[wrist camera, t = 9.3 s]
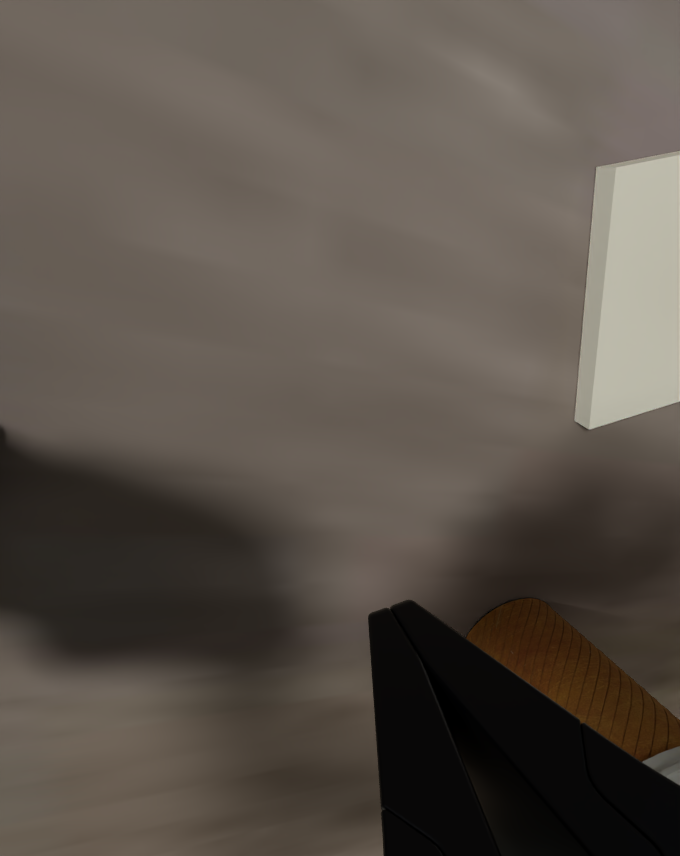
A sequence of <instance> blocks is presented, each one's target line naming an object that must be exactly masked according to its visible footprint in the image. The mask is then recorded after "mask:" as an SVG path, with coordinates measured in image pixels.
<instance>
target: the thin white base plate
mask: <svg viewBox="0 0 680 856" xmlns="http://www.w3.org/2000/svg"><path fill="white" fill-rule="evenodd" d="M676 402H680V151H676V152H671V153H666V154H661V155H656V156H651V157H646V158H640V159H635V160H630V161H625V162H620V163H615V164H610V165H605V166H600V167H596V178H595V189H594V201H593V212H592V224H591V235H590V247H589V258H588V270H587V281H586V293H585V304H584V316H583V327H582V339H581V350H580V362H579V373H578V384H577V396H576V407H575V419H574V421H576V422H577V423H579V424H581V425H582V426H584V427H585V428H587V429H589V430H590V429H593V428H596V427H599V426H603V425H606V424H609V423H612V422H615V421H619V420H622V419H625V418H628V417H632V416H635V415H638V414H641V413H644V412H648V411H651V410H654V409H657V408H660V407H664V406H667V405H670V404H673V403H676Z"/></svg>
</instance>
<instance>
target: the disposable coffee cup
mask: <svg viewBox="0 0 680 856" xmlns="http://www.w3.org/2000/svg"><path fill="white" fill-rule="evenodd" d="M466 639H468V640H469V641H470V642H472V643H473V644H475V645H476V646H477V647H479V648H480V649H482V650H483V651H484V652H486V653H487V654H489V655H490V656H491V657H493V658H494V659H496V660H497V661H498V662H500V663H501V664H503V665H504V666H506V667H507V668H508V669H510V670H511V671H513V672H514V673H515V674H517V675H518V676H520V677H521V678H522V679H524V680H525V681H527V682H528V683H529V684H531V685H532V686H534V687H535V688H536V689H538V690H539V691H541V692H542V693H543V694H545V695H546V696H548V697H549V698H551V699H552V700H553V701H555V702H556V703H558V704H559V705H560V706H562V707H563V708H565V709H566V710H567V711H569V712H570V713H572V714H573V715H574V716H576V717H577V718H579V720H580V723H586V724H587V725H589V726H590V727H592V728H593V729H594V730H596V731H597V732H598V733H600V734H601V735H603V736H604V737H605V738H607V739H608V740H610V741H611V742H613V743H614V744H616V745H617V746H619V747H620V748H622V749H623V750H625V751H626V752H628V753H629V754H631V755H632V756H633V757H635V758H636V759H638V760H639V761H641V762H643V763H644V764H646V765H647V766H649V767H651V768H652V769H654V770H656V771H657V772H659V773H661V774H662V775H664V776H665V777H667V778H669V779H670V780H672V781H674V782H675V783H677V784H679V785H680V720H679V719H678V718H676V717H675V716H674V715H672V713H671V712H670V711H669V710H668V709H666V708H665V707H664V706H662V705H661V704H660V703H659V702H658V701H657V700H656V699H655V698H654V697H652V696H651V695H650V694H648V692H647V691H646V690H645V689H644V688H642V687H641V686H640V685H638V684H637V683H636V682H635V681H634V680H633V679H632V678H631V677H630V676H628V675H627V674H626V673H625V672H624V671H623V670H622V669H620V668H619V667H618V666H617V665H616V664H615V663H614V662H613V661H611V660H610V659H609V658H608V657H606V656H605V655H604V653H603V652H601V651H600V650H599V649H597V648H596V647H595V646H594V645H593V644H592V643H591V642H589V641H588V640H587V639H586V638H585V637H584V636H583V635H581V634H580V633H579V632H578V631H577V630H576V629H575V628H574V627H572V626H571V625H570V624H569V623H568V622H567V621H566V620H564V619H563V618H562V617H561V616H560V615H559V614H558V613H556V612H555V611H554V610H553V609H552V608H551V607H550V606H549V605H548V604H546V603H545V602H544V601H541V600H539V599H533V598H526V599H518V600H515V601H511V602H508V603H506V604H503V605H501V606H500V607H498V608H496V609H494V610H493V611H491V612H490V613H488V614H487V615H485V616H484V617H483V618H482V619H481V620H480V621H479V622H478V623H477V624H476V625H475V626H474V627H473V628H472V630H471V631H470V632H469V634H468V635H467V637H466Z"/></svg>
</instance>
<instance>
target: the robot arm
mask: <svg viewBox="0 0 680 856" xmlns="http://www.w3.org/2000/svg"><path fill="white" fill-rule="evenodd" d="M368 623H369V638H370V653H371V667H372V682H373V697H374V712H375V726H376V741H377V756H378V770H379V785H380V800H381V809H382V812H381V819H382V833H383V854H384V856H680V785H679V784H677V783H675V782H674V781H672V780H670V779H669V778H667V777H665V776H664V775H662V774H661V773H659V772H657V771H656V770H654V769H652V768H651V767H649V766H647V765H646V764H644V763H643V762H641V761H639V760H638V759H636V758H635V757H633V756H632V755H631V754H629V753H628V752H626V751H625V750H623V749H622V748H620V747H619V746H617V745H616V744H614V743H613V742H611V741H610V740H608V739H607V738H605V737H604V736H603V735H601V734H600V733H598V732H597V731H596V730H594V729H593V728H592V727H590V726H589V725H587V724H586V723H580V720H579V718H577V717H576V716H574V715H573V714H572V713H570V712H569V711H567V710H566V709H565V708H563V707H562V706H560V705H559V704H558V703H556V702H555V701H553V700H552V699H551V698H549V697H548V696H546V695H545V694H543V693H542V692H541V691H539V690H538V689H536V688H535V687H534V686H532V685H531V684H529V683H528V682H527V681H525V680H524V679H522V678H521V677H520V676H518V675H517V674H515V673H514V672H513V671H511V670H510V669H508V668H507V667H506V666H504V665H503V664H501V663H500V662H498V661H497V660H496V659H494V658H493V657H491V656H490V655H489V654H487V653H486V652H484V651H483V650H482V649H480V648H479V647H477V646H476V645H475V644H473V643H472V642H470V641H469V640H468V639H466V638H465V637H463V636H462V635H461V634H459V633H458V632H456V631H455V630H453V629H452V628H451V627H449V626H448V625H446V624H445V623H444V622H442V621H441V620H439V619H438V618H437V617H435V616H434V615H432V614H431V613H430V612H428V611H427V610H425V609H424V608H423V607H421V606H420V605H418V604H417V603H416V602H414V601H412V600H406V601H403V602H400V603H398V604H395V605H393V606H391V608H390V609H389V608H384V609H381V610H378V611H375V612H372V613H370V614H369V616H368Z"/></svg>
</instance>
